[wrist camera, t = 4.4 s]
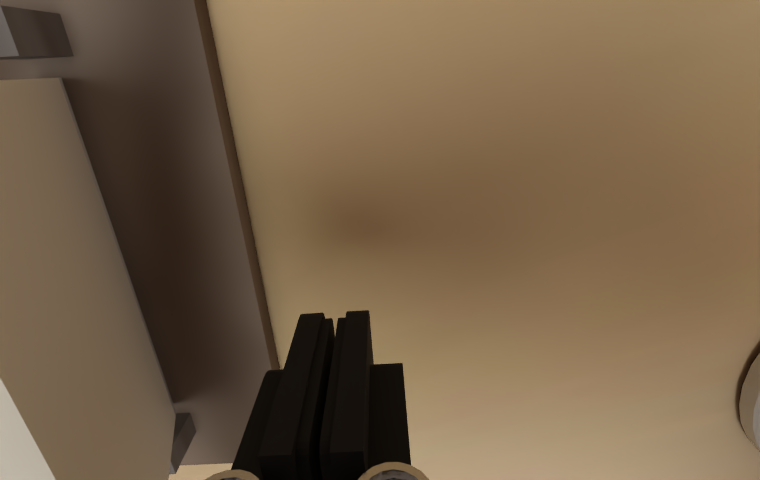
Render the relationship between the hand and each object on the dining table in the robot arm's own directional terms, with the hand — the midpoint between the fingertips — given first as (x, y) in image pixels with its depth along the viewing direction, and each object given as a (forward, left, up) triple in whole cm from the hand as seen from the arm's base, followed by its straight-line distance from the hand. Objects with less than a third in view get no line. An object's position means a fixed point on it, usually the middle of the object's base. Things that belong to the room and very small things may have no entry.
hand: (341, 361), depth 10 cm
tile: (+7, 0, -2) cm, 7 cm away
